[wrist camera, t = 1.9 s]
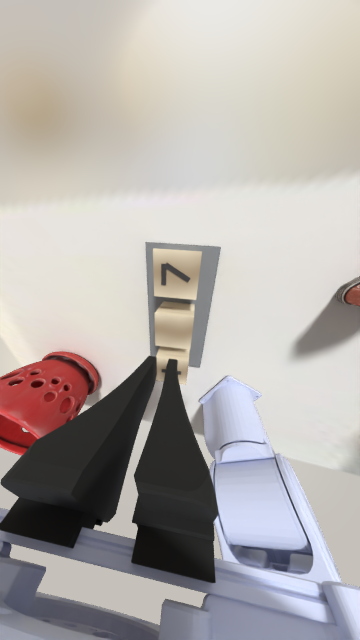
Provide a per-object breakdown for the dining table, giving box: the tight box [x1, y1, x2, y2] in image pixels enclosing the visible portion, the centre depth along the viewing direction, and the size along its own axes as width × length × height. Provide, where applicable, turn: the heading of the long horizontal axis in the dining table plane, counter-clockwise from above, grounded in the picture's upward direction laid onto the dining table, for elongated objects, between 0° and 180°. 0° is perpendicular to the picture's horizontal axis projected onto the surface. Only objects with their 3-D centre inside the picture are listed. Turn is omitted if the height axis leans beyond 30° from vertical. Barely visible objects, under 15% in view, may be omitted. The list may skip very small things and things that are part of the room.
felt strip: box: [146, 242, 221, 367], centre depth 20 cm, size 19×9×1 cm, turn 176°
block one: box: [156, 346, 190, 385], centre depth 21 cm, size 4×4×5 cm
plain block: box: [154, 301, 195, 350], centre depth 18 cm, size 4×4×4 cm
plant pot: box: [0, 352, 98, 455], centre depth 23 cm, size 13×13×12 cm
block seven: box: [153, 248, 202, 300], centre depth 15 cm, size 4×4×5 cm
